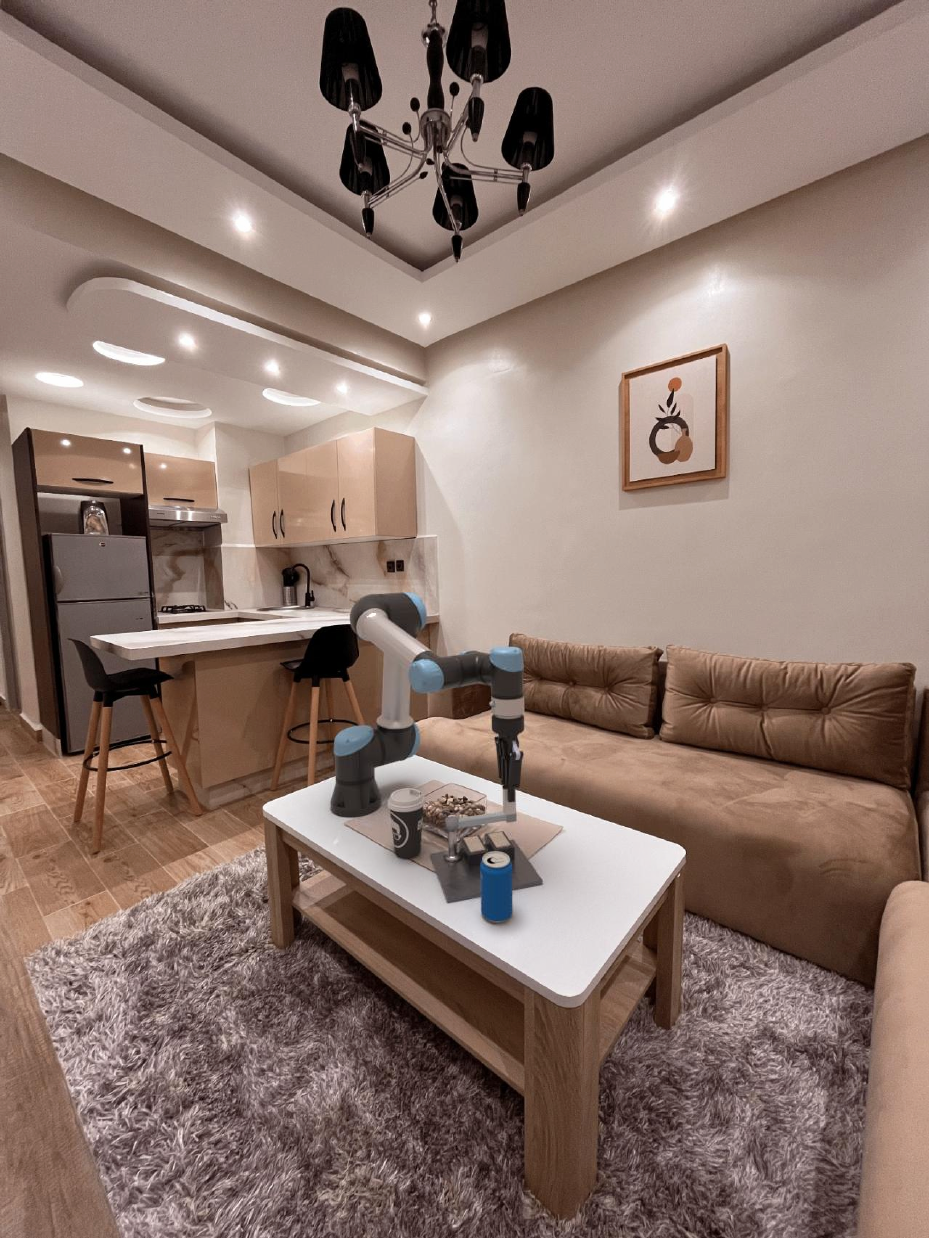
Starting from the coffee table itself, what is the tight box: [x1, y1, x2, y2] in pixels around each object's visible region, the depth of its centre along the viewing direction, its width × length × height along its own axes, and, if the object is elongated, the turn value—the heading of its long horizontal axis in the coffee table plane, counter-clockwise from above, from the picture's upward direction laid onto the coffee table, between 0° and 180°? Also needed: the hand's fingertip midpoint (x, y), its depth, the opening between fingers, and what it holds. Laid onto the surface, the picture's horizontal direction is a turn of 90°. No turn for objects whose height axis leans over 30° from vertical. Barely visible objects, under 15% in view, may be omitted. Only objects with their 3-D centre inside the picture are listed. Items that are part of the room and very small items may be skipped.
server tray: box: [429, 830, 543, 904], centre depth 118 cm, size 18×22×8 cm
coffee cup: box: [386, 787, 426, 860], centre depth 125 cm, size 10×10×15 cm
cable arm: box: [445, 810, 517, 831], centre depth 123 cm, size 3×18×2 cm, turn 105°
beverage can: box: [480, 851, 514, 924], centre depth 102 cm, size 6×6×12 cm
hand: (509, 812), depth 117 cm, fingers closed
